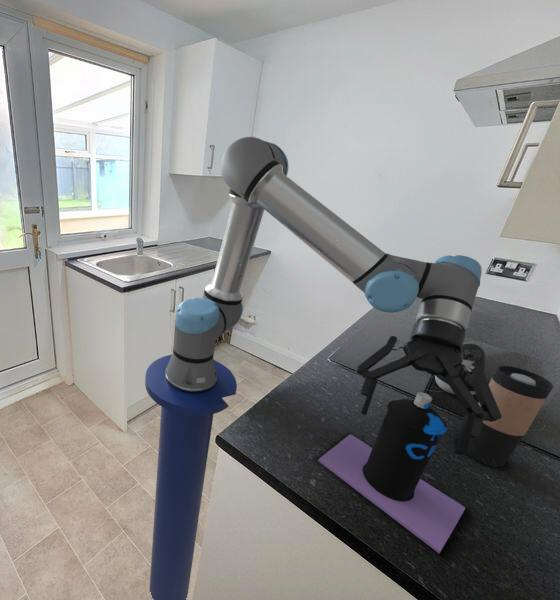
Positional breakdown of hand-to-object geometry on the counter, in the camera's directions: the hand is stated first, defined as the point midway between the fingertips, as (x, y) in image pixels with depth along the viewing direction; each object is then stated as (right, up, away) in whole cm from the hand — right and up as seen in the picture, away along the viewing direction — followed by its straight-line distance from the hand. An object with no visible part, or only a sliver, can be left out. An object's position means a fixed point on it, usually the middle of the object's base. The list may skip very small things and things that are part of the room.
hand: (408, 431), depth 54 cm
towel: (0, -12, +5) cm, 13 cm away
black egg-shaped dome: (+40, -3, +35) cm, 53 cm away
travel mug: (+27, -11, +14) cm, 32 cm away
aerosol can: (0, -12, +5) cm, 13 cm away
